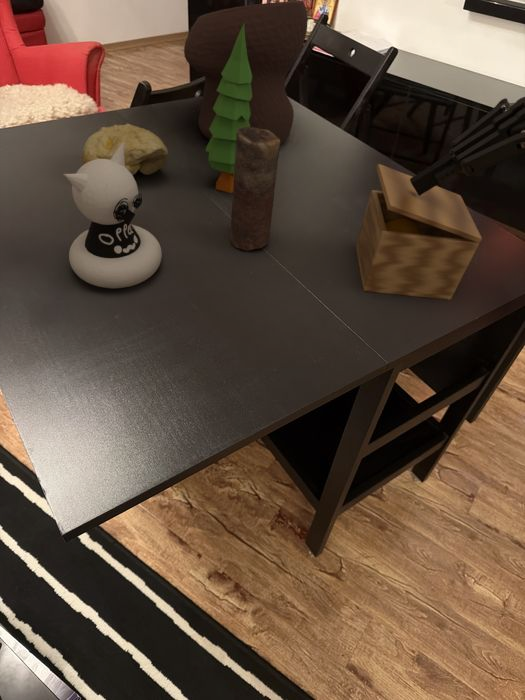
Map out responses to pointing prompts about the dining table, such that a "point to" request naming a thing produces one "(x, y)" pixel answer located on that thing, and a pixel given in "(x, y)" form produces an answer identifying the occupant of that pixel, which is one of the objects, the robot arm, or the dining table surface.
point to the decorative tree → (230, 113)
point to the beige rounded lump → (127, 147)
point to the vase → (250, 59)
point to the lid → (427, 204)
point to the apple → (403, 226)
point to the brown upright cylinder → (253, 187)
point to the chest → (409, 255)
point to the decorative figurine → (111, 226)
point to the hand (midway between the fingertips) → (414, 187)
